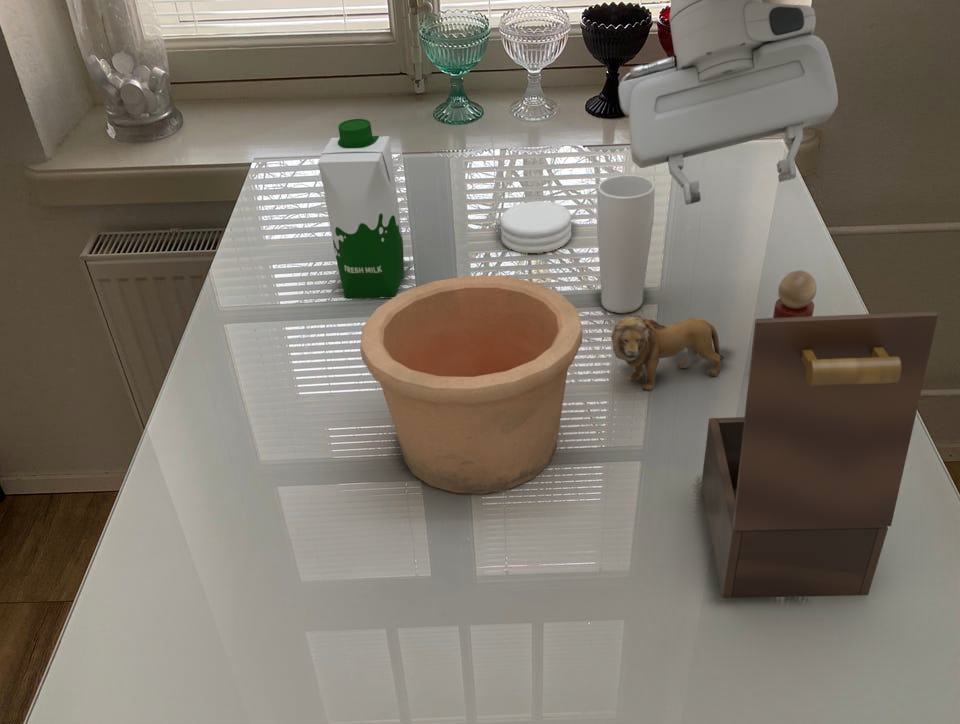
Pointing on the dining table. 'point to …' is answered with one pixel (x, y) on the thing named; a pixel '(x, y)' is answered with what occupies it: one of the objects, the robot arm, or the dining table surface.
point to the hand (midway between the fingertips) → (740, 191)
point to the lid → (830, 419)
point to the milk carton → (363, 211)
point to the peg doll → (796, 296)
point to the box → (778, 538)
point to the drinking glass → (624, 239)
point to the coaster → (536, 227)
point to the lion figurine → (664, 344)
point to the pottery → (474, 377)
